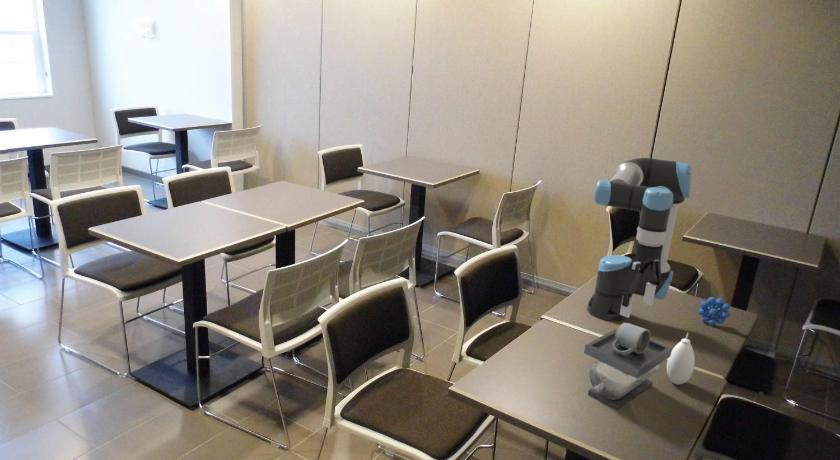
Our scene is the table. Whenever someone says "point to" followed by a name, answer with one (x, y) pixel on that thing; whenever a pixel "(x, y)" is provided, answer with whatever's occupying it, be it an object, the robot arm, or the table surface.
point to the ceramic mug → (631, 339)
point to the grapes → (714, 311)
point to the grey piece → (622, 370)
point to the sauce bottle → (681, 362)
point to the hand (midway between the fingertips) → (636, 309)
